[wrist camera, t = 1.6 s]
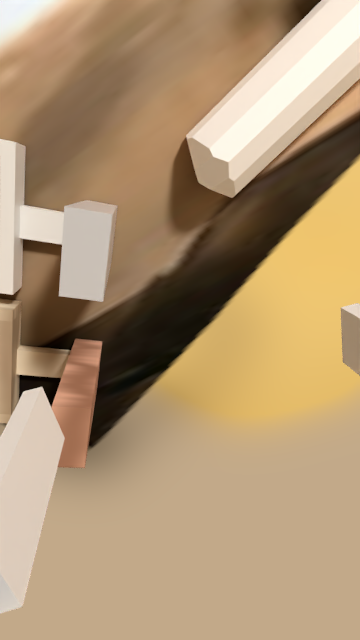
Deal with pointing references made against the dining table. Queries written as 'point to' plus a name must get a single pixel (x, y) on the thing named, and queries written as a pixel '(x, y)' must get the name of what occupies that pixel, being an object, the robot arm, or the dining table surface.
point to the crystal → (278, 98)
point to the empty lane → (53, 233)
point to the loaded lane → (70, 365)
